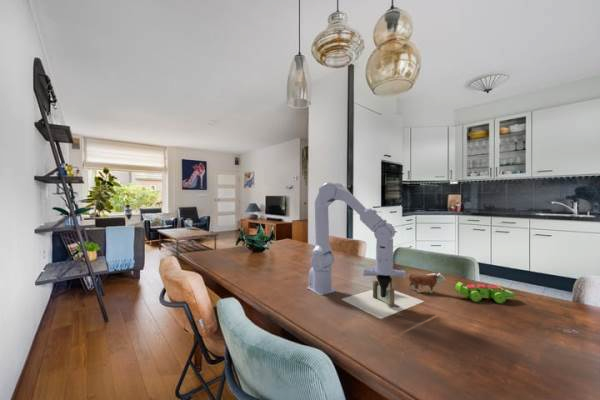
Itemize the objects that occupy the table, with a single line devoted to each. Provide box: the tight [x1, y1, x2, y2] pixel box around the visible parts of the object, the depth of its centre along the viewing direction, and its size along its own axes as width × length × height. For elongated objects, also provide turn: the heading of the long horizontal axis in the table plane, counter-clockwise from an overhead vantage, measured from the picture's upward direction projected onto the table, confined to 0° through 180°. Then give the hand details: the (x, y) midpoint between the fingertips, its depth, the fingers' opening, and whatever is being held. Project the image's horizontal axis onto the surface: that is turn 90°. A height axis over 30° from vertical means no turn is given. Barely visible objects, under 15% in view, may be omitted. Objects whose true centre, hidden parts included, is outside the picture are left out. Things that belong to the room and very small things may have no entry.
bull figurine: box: [408, 272, 447, 294], centre depth 101 cm, size 4×13×8 cm, turn 78°
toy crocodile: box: [454, 281, 516, 304], centre depth 95 cm, size 20×7×6 cm, turn 81°
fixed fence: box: [372, 276, 393, 298], centre depth 97 cm, size 10×2×6 cm, turn 123°
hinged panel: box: [377, 285, 395, 306], centre depth 90 cm, size 8×1×6 cm, turn 24°
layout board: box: [341, 289, 425, 320], centre depth 92 cm, size 18×24×1 cm
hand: (383, 296), depth 89 cm, fingers closed, pressing on hinged panel
